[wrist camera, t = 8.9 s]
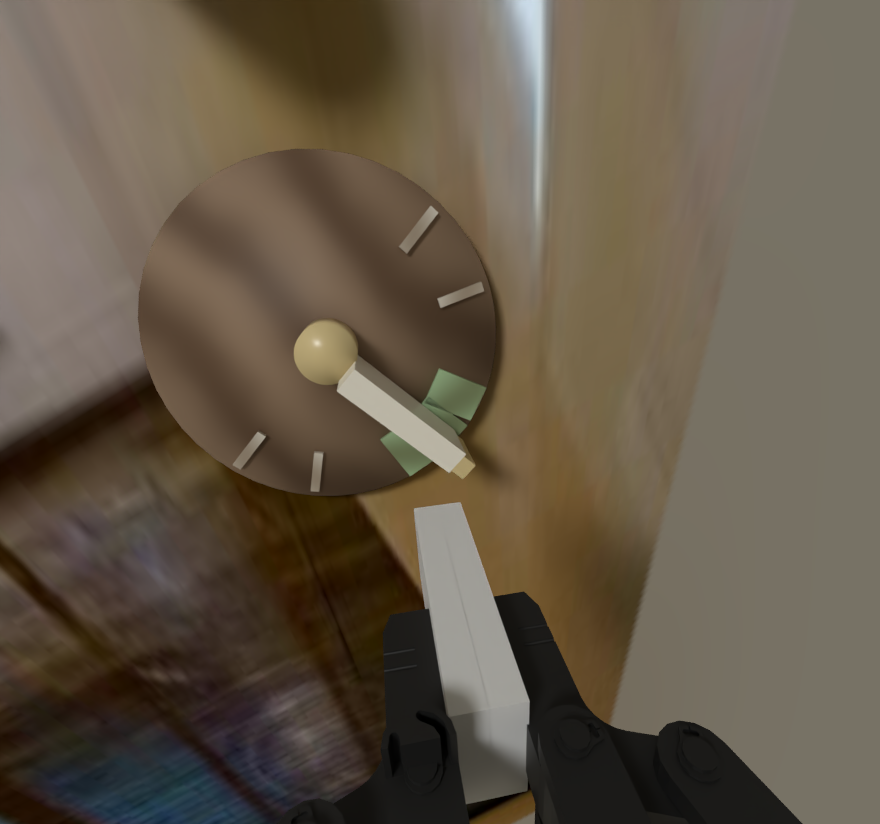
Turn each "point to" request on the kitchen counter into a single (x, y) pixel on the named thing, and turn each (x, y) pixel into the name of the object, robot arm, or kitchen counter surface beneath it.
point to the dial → (312, 316)
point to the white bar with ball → (377, 393)
